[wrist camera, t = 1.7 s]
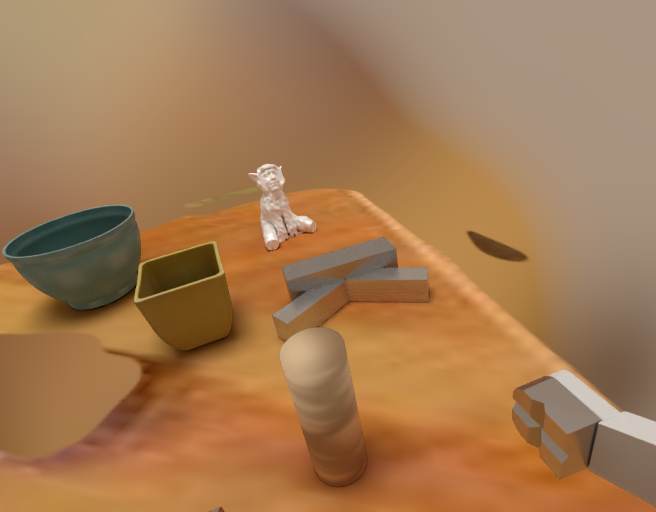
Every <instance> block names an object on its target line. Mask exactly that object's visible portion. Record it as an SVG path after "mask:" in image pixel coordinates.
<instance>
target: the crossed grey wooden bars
mask: <svg viewBox="0 0 656 512" xmlns="http://www.w3.org/2000/svg"><path fill="white" fill-rule="evenodd" d="M282 270H283V274H284V278H285V282H286V285H287V289H288V293H289V297H290V300H291V303H289V304H288V305H286V306H285V307H284V308H282V309H281V310H279V311H278V312H277V313H275V314H274V315H272V317H273V320H274V323H275V327H276V330H277V333H278V337H279V338H281V339H282V340H284V341H287V340H288V339H289V338H290V337H291V336H293V335H294V334H296V333H298V332H300V331H302V330H305V329H309V328H315V327H318V326H320V325H321V324H322V323H323V322H325V321H326V320H327V319H328V318H330V317H331V316H332V315H333V314H335V313H336V312H337V311H338V310H340V309H341V308H342V307H343V306H345V305H346V304H347V303H348V302H350V301H359V302H429V277H428V267H410V268H398V264H397V254H396V248H395V247H394V246H393V245H392V244H391V243H390V242H389V241H388V240H387V239H386V238H385V237H381V238H378V239H375V240H371V241H368V242H364V243H361V244H357V245H354V246H351V247H347V248H344V249H340V250H337V251H333V252H330V253H327V254H323V255H320V256H316V257H313V258H309V259H306V260H302V261H299V262H296V263H292V264H289V265H285V266H282Z"/></svg>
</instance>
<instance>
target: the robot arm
mask: <svg viewBox="0 0 656 512" xmlns="http://www.w3.org/2000/svg"><path fill="white" fill-rule="evenodd" d="M513 399H514V400H515V401H516V402H517V403H516V404H515V406H514V407H513V409H512V418H513V421H514V424H515V426H516V428H517V430H518V431H519V433H520V435H521V436H522V437H523V438H524V439H525V441H526V442H527V443H529V444H531V445H533V446H536V447H538V448H539V454H540V458H541V459H542V460H543V461H544V462H545V464H546V465H547V466H548V467H549V468H550V469H551V470H552V472H553V473H554V474H555V475H556V476H557V477H558V478H559V480H560V479H563V478H565V477H567V476H570V475H572V474H575V473H577V472H579V471H582V470H584V469H587V468H588V470H589V471H591V472H593V473H595V474H596V475H598V476H600V477H602V478H604V479H606V480H607V481H609V482H611V483H613V484H615V485H617V486H618V487H620V488H622V489H624V490H626V491H628V492H629V493H631V494H633V495H635V496H637V497H639V498H640V499H642V500H644V501H646V502H648V503H650V504H651V505H653V506H655V507H656V422H655V421H652V420H649V419H646V418H643V417H641V416H638V415H635V414H632V413H629V412H626V411H624V412H621V413H620V412H619V411H617V410H616V409H615V408H614V407H612V406H611V405H610V404H609V403H607V402H606V401H605V400H604V399H603V398H601V397H600V396H599V395H598V394H596V393H595V392H594V391H593V390H592V389H590V388H589V387H588V386H587V385H585V384H584V383H583V382H582V381H581V380H579V379H578V378H577V377H576V376H574V375H573V374H572V373H571V372H569V371H567V370H559V371H557V372H554V373H552V374H550V375H547V376H544V377H541V378H539V379H536V380H534V381H532V382H529V383H527V384H525V385H522V386H520V387H518V388H516V389H515V390H514V391H513ZM209 512H224V510H223V508H222V507H219V508H216V509H214V510H211V511H209Z"/></svg>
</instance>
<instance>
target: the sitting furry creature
mask: <svg viewBox="0 0 656 512" xmlns="http://www.w3.org/2000/svg"><path fill="white" fill-rule="evenodd" d="M281 167H282V166H280V167H279V168H278V167H277V166H276V165H274V164H272V165H271V164H265V165H263V166H262V167H260V168H259V169H257V174H256V173H249V174H248V176H249V177H250V178H251V179H252V180H253V181H256V182H257V187H258V188H259V189H260V190H261V191H263V192H264V194H262V198H261V200H260V202H261V203H260V206H261V216H260V217H261V218H260V223H261V228H262V231H263V238H264V243H265V245H266V247H267V249H268V250H276V249H277V248H278V246H279V243H281V242H283V241H285V239H287V240H288V238H289V237H294V235H296V236H297V235H299V234H301V233H303V232H309V233H314V232H316V228H317V225H316V222H315V221H313V220H311V219H309V218H308V217H307V216H296V215H295V214H294V213H292V212H291V211H290V207H289V202H288V200H287V197H286V196H285V195H284V192H283V191H282V189H283V184H284V183H285V179H284V177H283V175H282V171H281ZM299 231H300V232H299ZM288 233H289V235H290V236H288ZM278 239H279V240H278Z"/></svg>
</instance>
